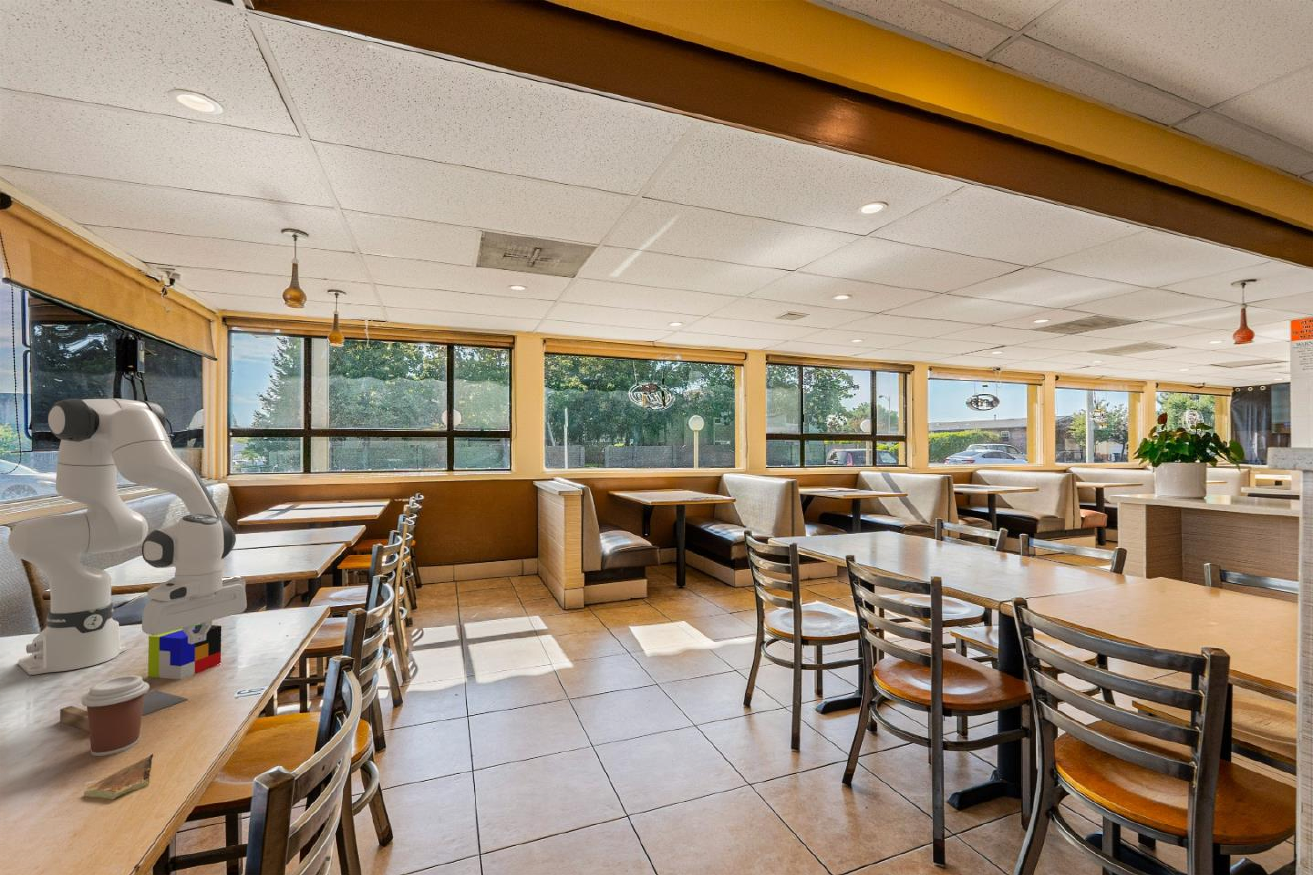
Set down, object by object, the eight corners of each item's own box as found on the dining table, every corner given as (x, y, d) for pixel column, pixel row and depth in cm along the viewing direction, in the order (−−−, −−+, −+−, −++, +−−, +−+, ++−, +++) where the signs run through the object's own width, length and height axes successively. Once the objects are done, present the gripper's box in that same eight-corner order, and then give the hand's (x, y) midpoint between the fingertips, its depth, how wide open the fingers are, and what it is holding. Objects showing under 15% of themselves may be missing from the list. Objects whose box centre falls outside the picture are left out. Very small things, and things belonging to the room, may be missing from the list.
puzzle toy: (180, 680, 134) (181, 638, 134) (148, 676, 136) (148, 635, 136) (220, 664, 144) (221, 625, 144) (189, 661, 146) (190, 623, 146)
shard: (152, 761, 100) (152, 751, 100) (188, 765, 98) (188, 755, 98) (81, 799, 89) (81, 788, 89) (120, 804, 88) (120, 792, 88)
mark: (87, 713, 117) (87, 712, 117) (156, 690, 128) (156, 689, 128) (119, 724, 112) (119, 723, 112) (187, 699, 123) (187, 698, 123)
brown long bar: (60, 721, 113) (60, 709, 113) (70, 717, 115) (70, 705, 115) (97, 734, 108) (97, 721, 108) (108, 730, 110) (108, 717, 110)
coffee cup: (149, 729, 110) (150, 668, 110) (147, 747, 103) (148, 683, 104) (83, 745, 104) (84, 681, 104) (77, 766, 97) (78, 697, 98)
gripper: (237, 572, 142) (235, 626, 142) (138, 592, 123) (136, 654, 123) (253, 575, 139) (251, 630, 139) (155, 596, 120) (153, 659, 120)
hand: (197, 641), depth 131 cm, fingers closed
